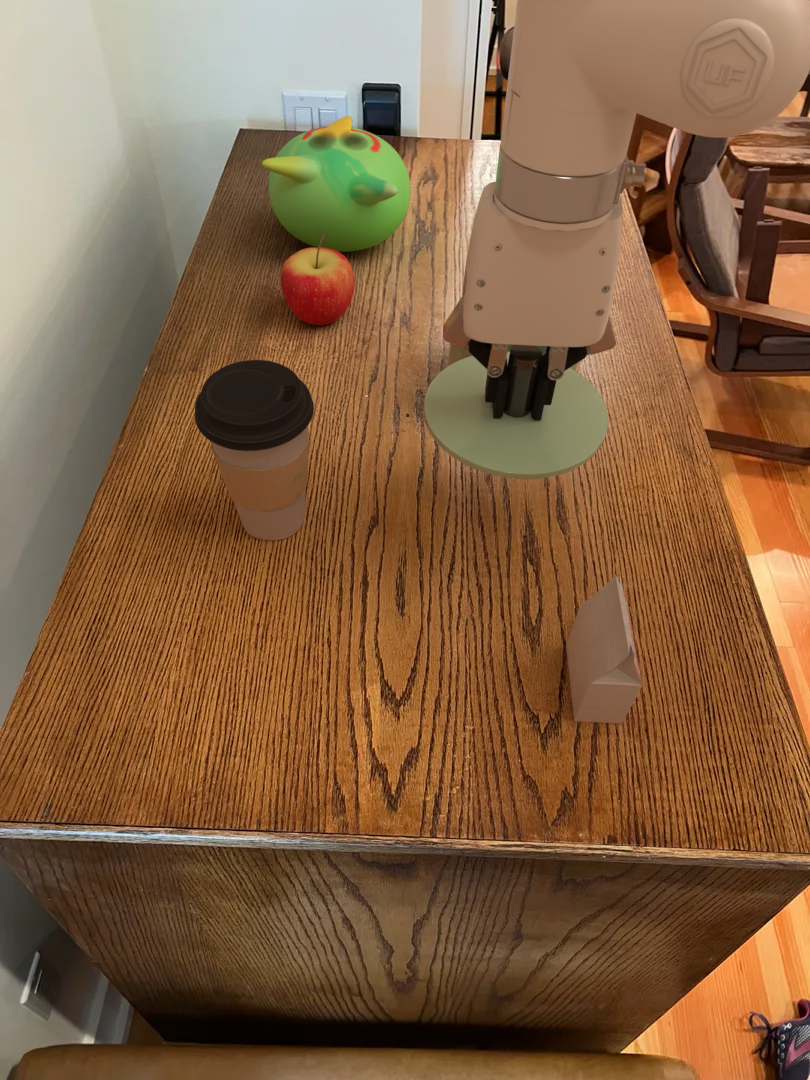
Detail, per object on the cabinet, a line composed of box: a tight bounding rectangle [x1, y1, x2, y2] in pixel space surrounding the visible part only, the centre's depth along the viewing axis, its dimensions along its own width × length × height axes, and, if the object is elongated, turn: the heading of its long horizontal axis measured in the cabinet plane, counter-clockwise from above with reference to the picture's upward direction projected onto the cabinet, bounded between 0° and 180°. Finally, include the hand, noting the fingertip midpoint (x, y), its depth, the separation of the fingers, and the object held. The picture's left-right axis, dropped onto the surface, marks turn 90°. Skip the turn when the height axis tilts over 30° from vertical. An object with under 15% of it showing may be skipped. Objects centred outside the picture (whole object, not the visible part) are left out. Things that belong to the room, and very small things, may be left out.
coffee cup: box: [194, 359, 315, 542], centre depth 66 cm, size 9×9×15 cm
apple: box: [280, 232, 355, 326], centre depth 88 cm, size 8×8×10 cm
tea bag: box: [565, 574, 643, 724], centre depth 57 cm, size 4×7×10 cm, turn 178°
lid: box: [423, 345, 609, 480], centre depth 60 cm, size 15×15×7 cm
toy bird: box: [261, 115, 412, 253], centre depth 97 cm, size 18×17×15 cm
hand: (516, 406), depth 61 cm, fingers closed on lid, 2 cm apart
